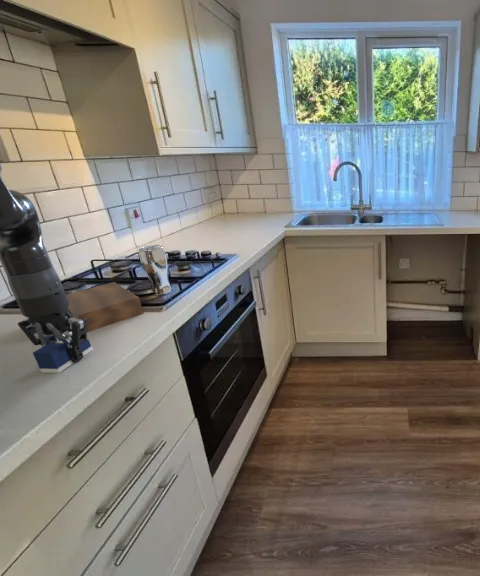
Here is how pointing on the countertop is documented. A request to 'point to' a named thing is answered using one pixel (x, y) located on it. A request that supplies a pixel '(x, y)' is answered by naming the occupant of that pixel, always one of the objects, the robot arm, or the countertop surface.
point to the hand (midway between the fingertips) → (68, 359)
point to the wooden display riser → (104, 305)
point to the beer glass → (156, 268)
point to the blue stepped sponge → (57, 356)
